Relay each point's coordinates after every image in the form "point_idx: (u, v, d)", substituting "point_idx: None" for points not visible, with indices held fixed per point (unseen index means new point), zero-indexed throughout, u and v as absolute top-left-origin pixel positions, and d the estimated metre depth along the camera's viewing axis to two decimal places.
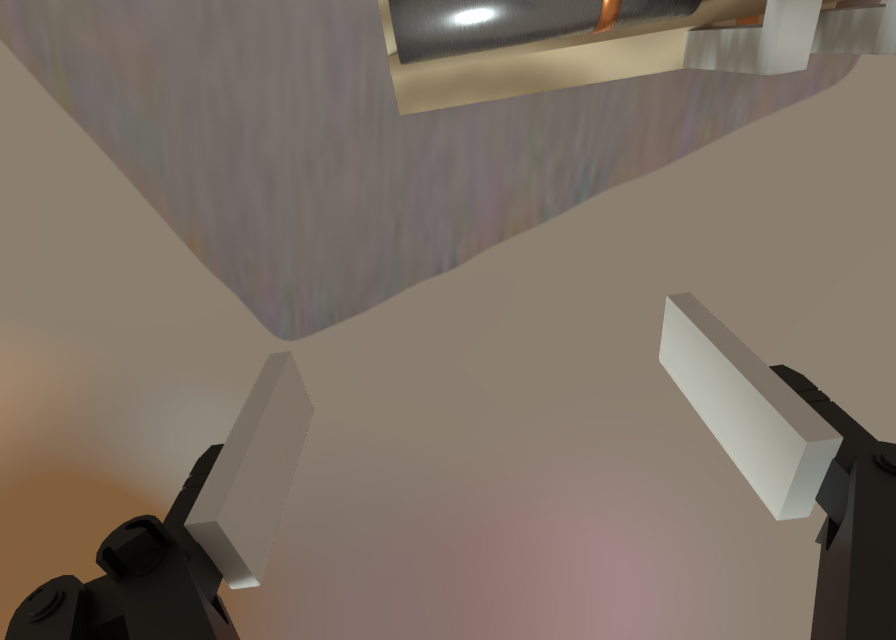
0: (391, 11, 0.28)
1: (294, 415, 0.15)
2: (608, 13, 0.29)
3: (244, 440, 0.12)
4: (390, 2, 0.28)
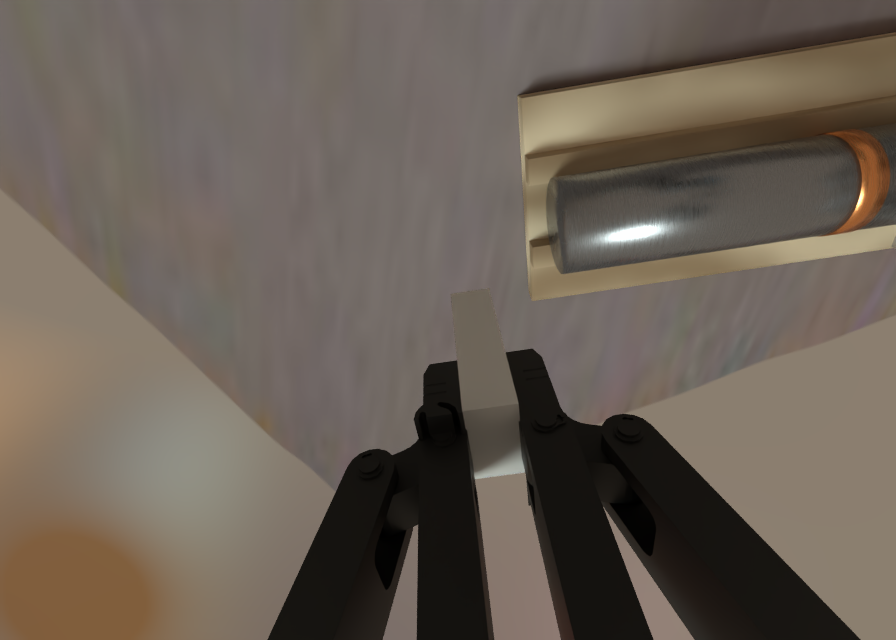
0: (570, 233, 0.21)
1: None
2: (850, 227, 0.22)
3: (474, 354, 0.14)
4: (570, 223, 0.21)
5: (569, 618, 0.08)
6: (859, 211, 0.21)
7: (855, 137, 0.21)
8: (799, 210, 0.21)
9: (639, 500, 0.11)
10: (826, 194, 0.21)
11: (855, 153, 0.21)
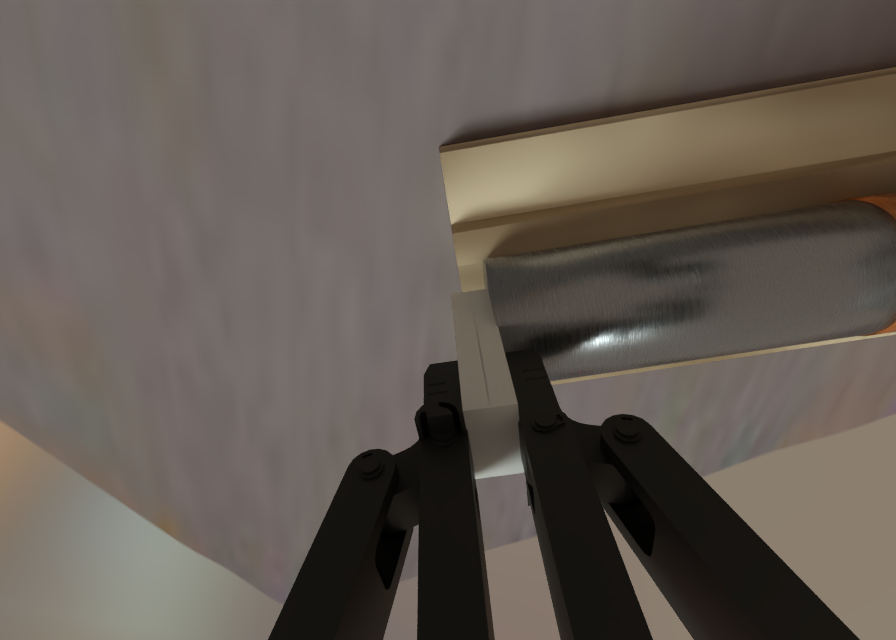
0: None
1: None
2: None
3: (474, 354, 0.14)
4: (501, 334, 0.15)
5: (568, 618, 0.08)
6: None
7: None
8: (825, 313, 0.15)
9: (638, 500, 0.11)
10: (865, 292, 0.15)
11: None
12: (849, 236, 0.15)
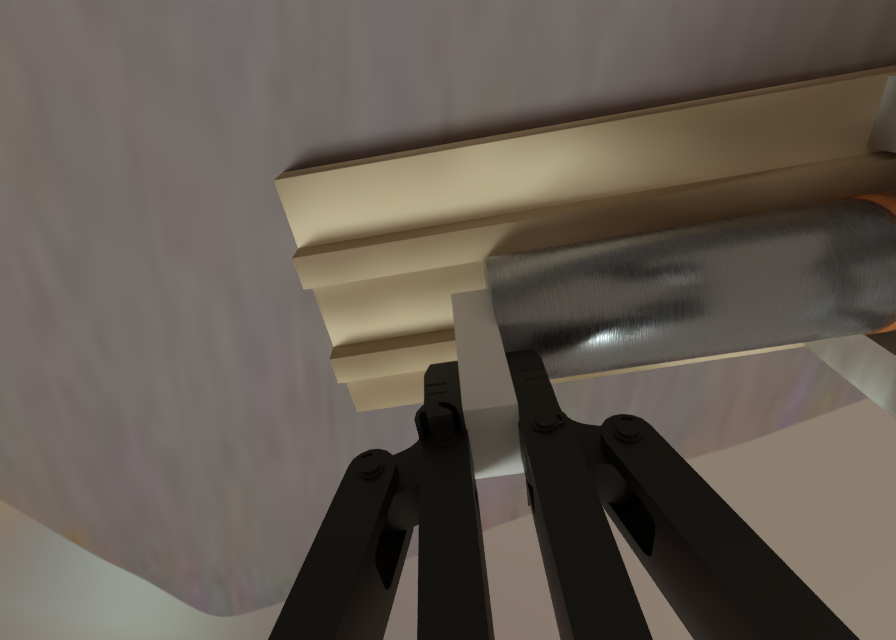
0: (503, 346, 0.15)
1: None
2: None
3: (474, 354, 0.14)
4: (502, 333, 0.15)
5: (568, 618, 0.08)
6: None
7: None
8: (825, 313, 0.15)
9: (638, 500, 0.11)
10: (866, 291, 0.15)
11: None
12: (851, 235, 0.15)
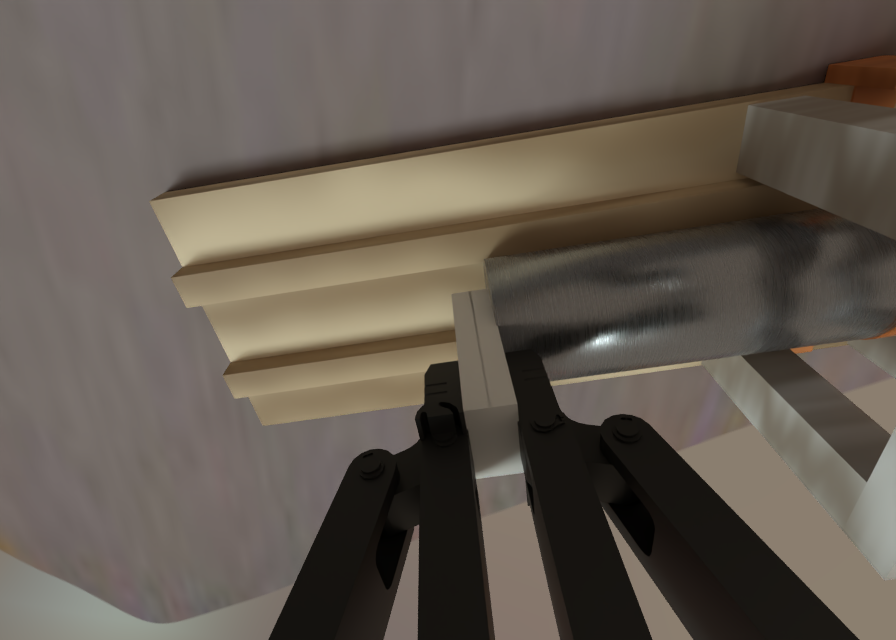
0: None
1: None
2: None
3: (475, 354, 0.14)
4: (501, 335, 0.15)
5: (568, 618, 0.08)
6: None
7: None
8: (825, 318, 0.15)
9: (638, 500, 0.11)
10: (866, 297, 0.15)
11: None
12: (851, 240, 0.15)
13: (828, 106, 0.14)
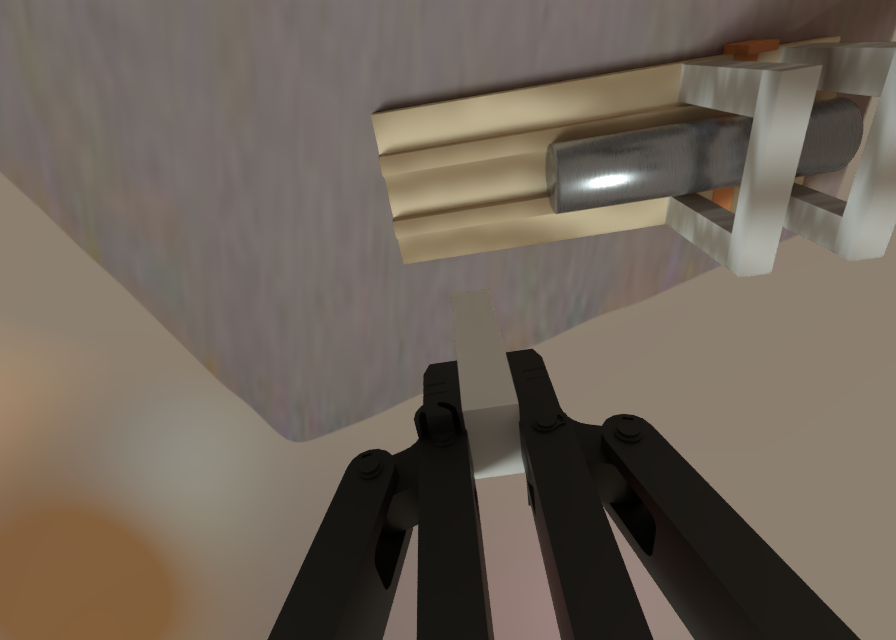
0: (562, 180, 0.31)
1: None
2: None
3: (474, 354, 0.14)
4: (562, 173, 0.31)
5: (569, 618, 0.08)
6: None
7: None
8: (719, 164, 0.31)
9: (639, 500, 0.11)
10: (737, 153, 0.30)
11: None
12: (731, 126, 0.30)
13: (716, 62, 0.30)
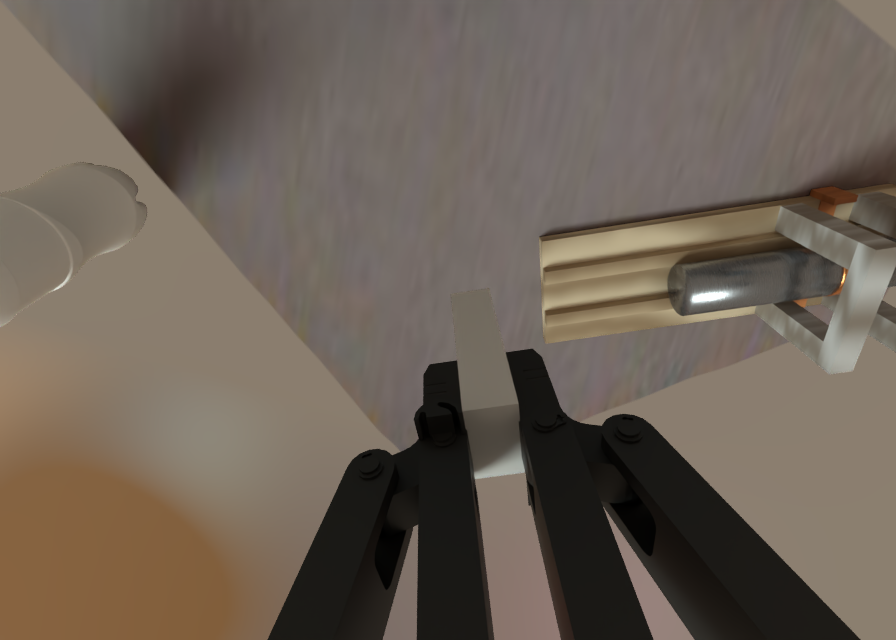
0: (693, 297, 0.41)
1: None
2: (838, 293, 0.42)
3: (474, 354, 0.14)
4: (694, 292, 0.41)
5: (569, 618, 0.08)
6: (842, 286, 0.41)
7: None
8: (811, 286, 0.41)
9: (639, 500, 0.11)
10: (825, 278, 0.41)
11: None
12: (820, 258, 0.41)
13: (810, 211, 0.41)
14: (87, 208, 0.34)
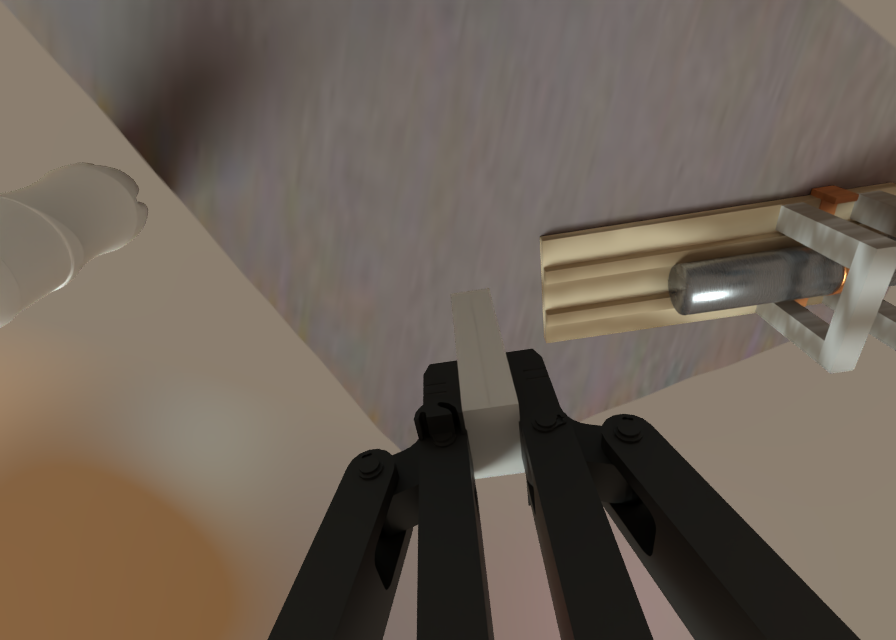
0: (694, 297, 0.41)
1: None
2: (839, 292, 0.42)
3: (474, 354, 0.14)
4: (694, 291, 0.41)
5: (569, 618, 0.08)
6: (843, 285, 0.41)
7: None
8: (812, 285, 0.41)
9: (639, 500, 0.11)
10: (826, 277, 0.41)
11: None
12: (821, 257, 0.41)
13: (811, 210, 0.41)
14: (88, 208, 0.34)
